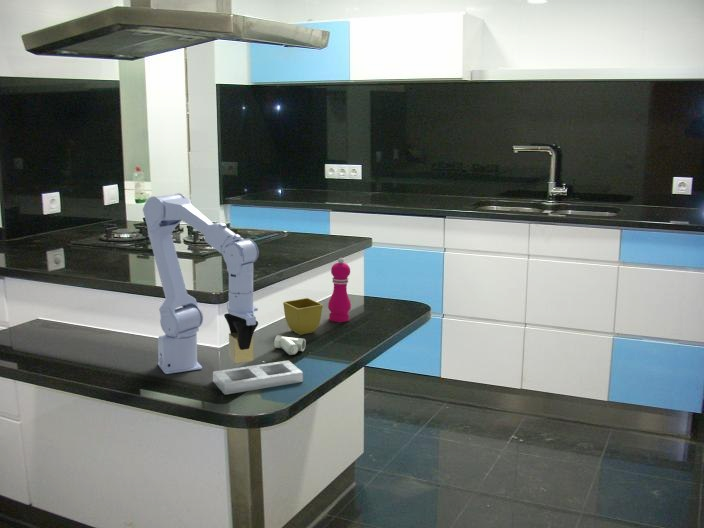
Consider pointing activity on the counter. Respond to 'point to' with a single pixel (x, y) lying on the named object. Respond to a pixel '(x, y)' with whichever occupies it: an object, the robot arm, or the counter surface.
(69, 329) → the counter surface
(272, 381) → the white block holder tray
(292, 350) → the pipe fitting
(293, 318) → the flower pot
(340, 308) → the pepper mill
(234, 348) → the wooden block
